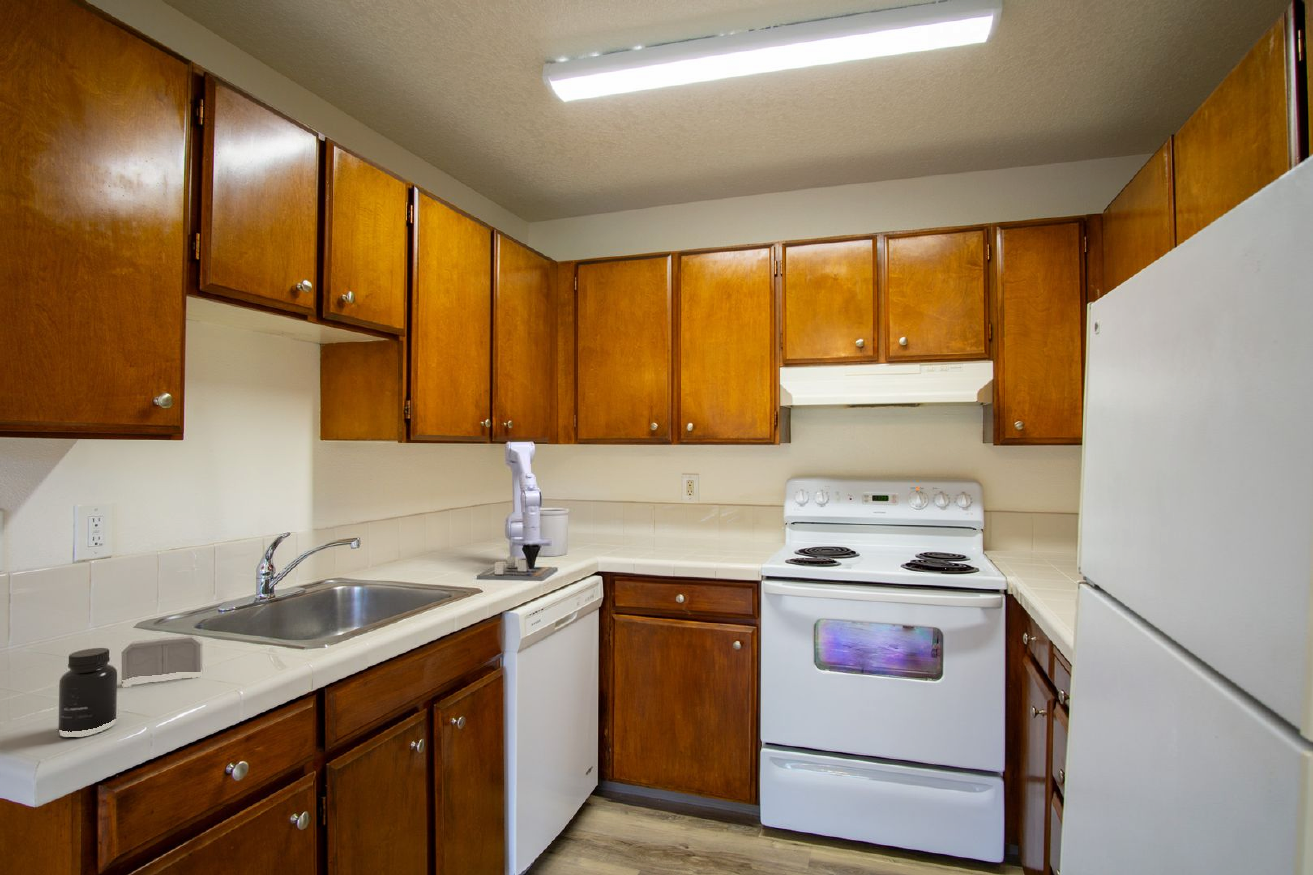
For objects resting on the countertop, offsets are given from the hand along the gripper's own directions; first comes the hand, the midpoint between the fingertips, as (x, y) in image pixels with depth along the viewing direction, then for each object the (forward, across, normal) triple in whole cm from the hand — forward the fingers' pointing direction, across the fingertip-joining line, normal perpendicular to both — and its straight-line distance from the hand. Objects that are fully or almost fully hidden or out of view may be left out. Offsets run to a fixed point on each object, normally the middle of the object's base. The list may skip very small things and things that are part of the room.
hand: (531, 567), depth 217 cm
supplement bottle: (+2, -30, -121) cm, 125 cm away
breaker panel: (+2, -4, 0) cm, 5 cm away
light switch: (+3, -37, -101) cm, 107 cm away
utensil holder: (+3, -6, +41) cm, 42 cm away
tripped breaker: (+1, -3, 0) cm, 3 cm away
